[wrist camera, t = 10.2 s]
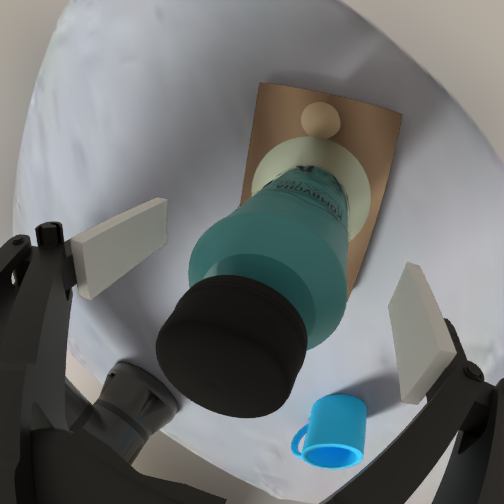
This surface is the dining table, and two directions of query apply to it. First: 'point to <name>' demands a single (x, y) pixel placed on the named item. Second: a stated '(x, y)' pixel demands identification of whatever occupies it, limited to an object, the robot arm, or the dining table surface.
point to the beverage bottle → (260, 296)
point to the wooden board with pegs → (325, 151)
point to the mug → (333, 433)
